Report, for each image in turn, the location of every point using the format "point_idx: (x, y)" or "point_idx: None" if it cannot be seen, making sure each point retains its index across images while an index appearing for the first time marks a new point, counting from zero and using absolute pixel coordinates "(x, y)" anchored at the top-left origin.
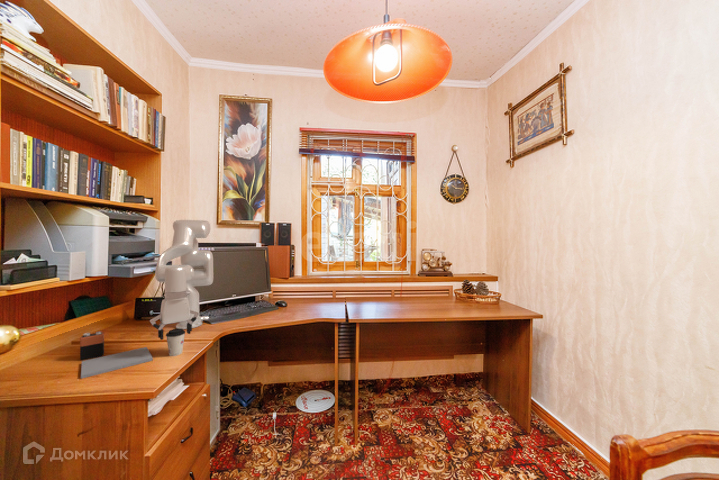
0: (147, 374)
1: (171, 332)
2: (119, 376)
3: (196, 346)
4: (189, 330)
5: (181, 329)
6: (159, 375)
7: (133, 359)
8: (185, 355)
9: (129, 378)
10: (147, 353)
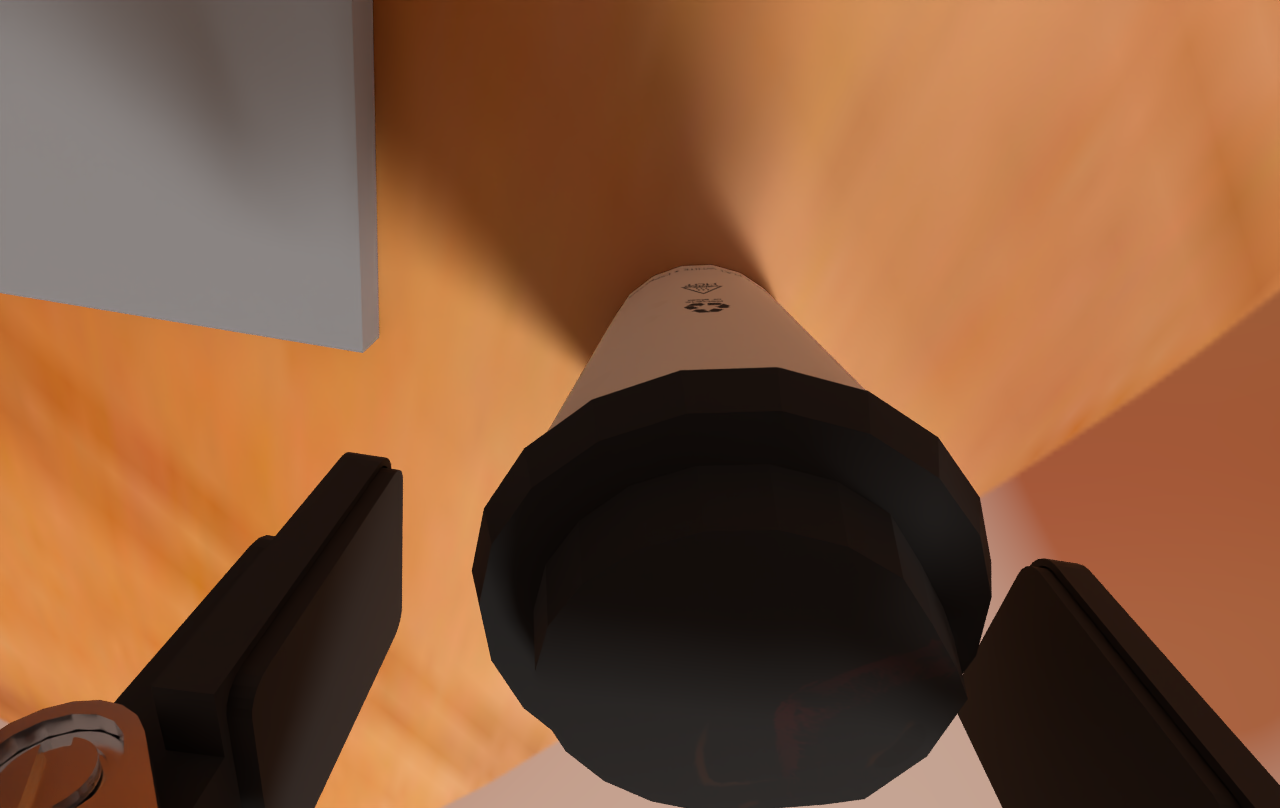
0: None
1: (569, 748)
2: (33, 506)
3: (1066, 309)
4: (1010, 792)
5: (888, 737)
6: (380, 747)
7: (89, 150)
8: None
9: (141, 622)
10: (310, 15)
